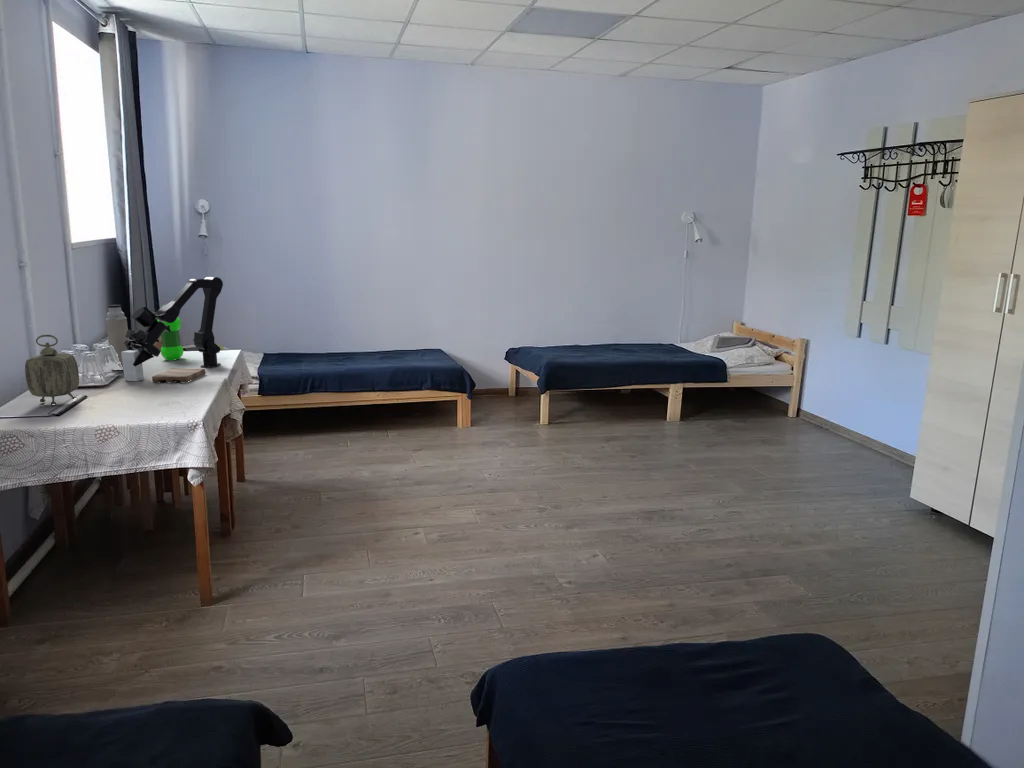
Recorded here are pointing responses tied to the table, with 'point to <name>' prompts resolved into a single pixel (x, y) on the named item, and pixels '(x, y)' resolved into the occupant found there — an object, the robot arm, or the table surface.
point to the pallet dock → (179, 375)
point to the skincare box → (131, 366)
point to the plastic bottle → (171, 341)
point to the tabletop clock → (51, 373)
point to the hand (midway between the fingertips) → (129, 364)
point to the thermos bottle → (117, 329)
